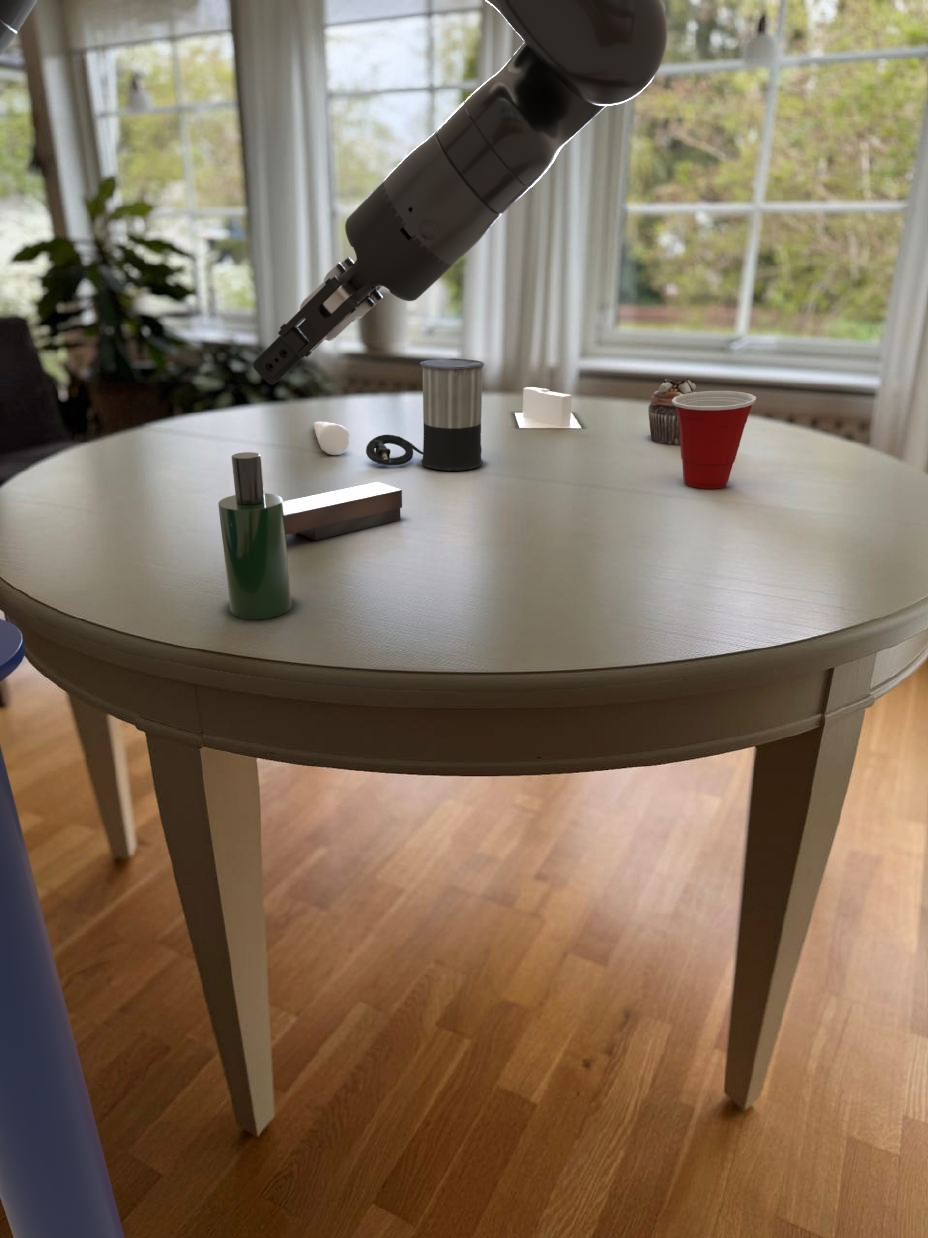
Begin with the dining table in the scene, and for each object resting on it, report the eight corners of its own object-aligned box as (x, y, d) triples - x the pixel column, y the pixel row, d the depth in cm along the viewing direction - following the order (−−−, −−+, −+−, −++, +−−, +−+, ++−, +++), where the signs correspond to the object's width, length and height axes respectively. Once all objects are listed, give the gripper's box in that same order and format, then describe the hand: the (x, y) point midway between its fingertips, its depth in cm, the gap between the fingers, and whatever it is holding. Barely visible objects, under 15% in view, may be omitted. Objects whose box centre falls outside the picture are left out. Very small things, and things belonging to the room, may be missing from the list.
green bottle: (248, 624, 74) (231, 465, 69) (219, 606, 78) (201, 454, 72) (302, 608, 78) (290, 455, 72) (272, 592, 81) (258, 445, 76)
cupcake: (648, 444, 141) (653, 382, 137) (643, 432, 150) (649, 374, 146) (707, 446, 140) (715, 383, 136) (699, 434, 149) (706, 375, 145)
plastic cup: (651, 475, 122) (659, 390, 117) (720, 472, 124) (731, 387, 119) (684, 496, 112) (694, 403, 108) (759, 492, 115) (772, 400, 110)
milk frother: (495, 467, 127) (497, 363, 121) (400, 481, 119) (397, 371, 113) (446, 448, 138) (445, 353, 132) (357, 460, 130) (352, 359, 124)
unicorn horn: (336, 425, 154) (335, 398, 152) (351, 455, 133) (349, 424, 131) (310, 426, 153) (308, 399, 151) (320, 457, 132) (318, 426, 130)
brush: (269, 553, 91) (266, 519, 90) (247, 542, 95) (243, 509, 93) (402, 520, 102) (402, 489, 101) (379, 511, 105) (377, 481, 104)
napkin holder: (582, 428, 153) (584, 395, 151) (519, 428, 153) (520, 395, 151) (571, 412, 167) (573, 382, 165) (513, 412, 167) (514, 382, 165)
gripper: (409, 166, 67) (277, 303, 75) (363, 185, 55) (211, 346, 63) (471, 245, 69) (337, 371, 77) (440, 279, 58) (285, 424, 65)
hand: (281, 359), depth 70 cm, fingers open, 8 cm apart
